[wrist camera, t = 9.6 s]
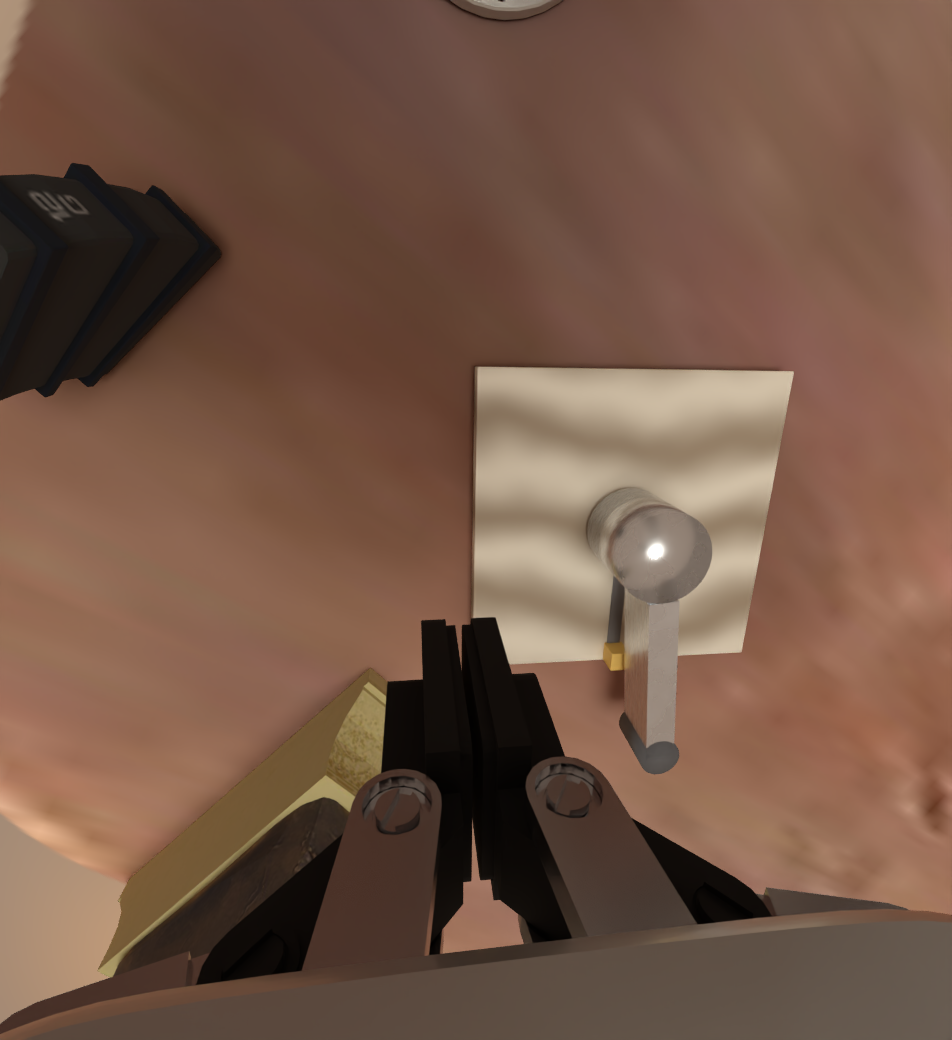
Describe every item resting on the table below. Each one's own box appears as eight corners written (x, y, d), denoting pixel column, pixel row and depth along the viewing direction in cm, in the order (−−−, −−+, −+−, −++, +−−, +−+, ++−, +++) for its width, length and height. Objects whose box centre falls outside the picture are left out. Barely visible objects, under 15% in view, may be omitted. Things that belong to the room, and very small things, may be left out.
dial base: (474, 366, 36) (481, 367, 33) (779, 370, 38) (811, 372, 35) (470, 655, 42) (475, 679, 39) (730, 642, 45) (754, 663, 42)
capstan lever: (586, 492, 37) (618, 518, 32) (668, 483, 38) (715, 506, 32) (590, 724, 43) (618, 780, 38) (662, 713, 44) (699, 767, 38)
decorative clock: (250, 946, 49) (29, 1775, 20) (130, 877, 45) (-349, 1779, 17) (479, 758, 46) (595, 1430, 17) (370, 666, 42) (288, 1336, 13)
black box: (260, 213, 30) (22, 254, 18) (161, 357, 37) (-61, 457, 25) (206, 154, 29) (-85, 155, 17) (114, 313, 36) (-142, 395, 24)
